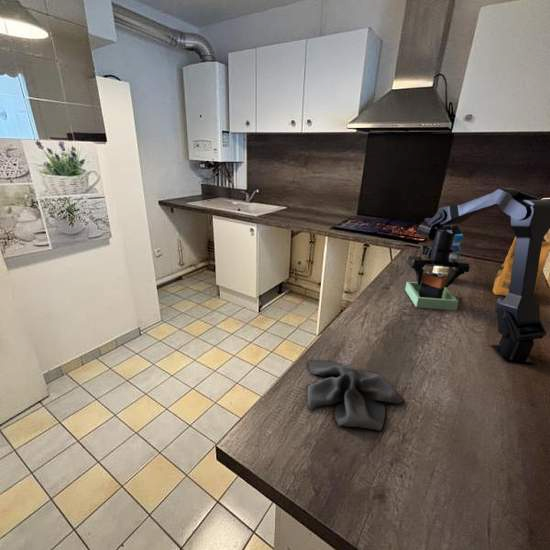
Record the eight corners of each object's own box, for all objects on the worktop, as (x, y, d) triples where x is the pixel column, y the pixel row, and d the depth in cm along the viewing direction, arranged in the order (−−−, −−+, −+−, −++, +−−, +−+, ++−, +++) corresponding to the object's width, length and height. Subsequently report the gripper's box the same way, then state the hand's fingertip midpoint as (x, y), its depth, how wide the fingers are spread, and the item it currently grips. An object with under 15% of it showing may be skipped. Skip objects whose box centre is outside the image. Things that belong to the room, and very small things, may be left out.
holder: (456, 310, 99) (458, 301, 97) (415, 307, 100) (418, 298, 99) (440, 292, 111) (442, 284, 110) (405, 289, 113) (406, 281, 112)
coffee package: (493, 285, 118) (511, 233, 110) (532, 295, 110) (555, 239, 102) (489, 293, 111) (508, 238, 103) (530, 304, 104) (555, 245, 95)
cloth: (408, 388, 65) (413, 367, 63) (381, 451, 51) (387, 426, 49) (320, 350, 77) (322, 330, 75) (279, 392, 63) (280, 370, 61)
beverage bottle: (457, 281, 121) (471, 235, 114) (443, 284, 118) (455, 236, 111) (440, 274, 129) (452, 230, 121) (426, 276, 126) (437, 231, 118)
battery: (436, 303, 102) (443, 277, 98) (417, 296, 106) (423, 271, 103) (441, 299, 105) (448, 274, 101) (422, 293, 109) (428, 268, 105)
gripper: (461, 239, 104) (450, 279, 110) (407, 236, 106) (399, 275, 112) (477, 248, 94) (463, 292, 100) (416, 245, 96) (407, 287, 102)
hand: (432, 286), depth 104 cm, fingers open, 9 cm apart
